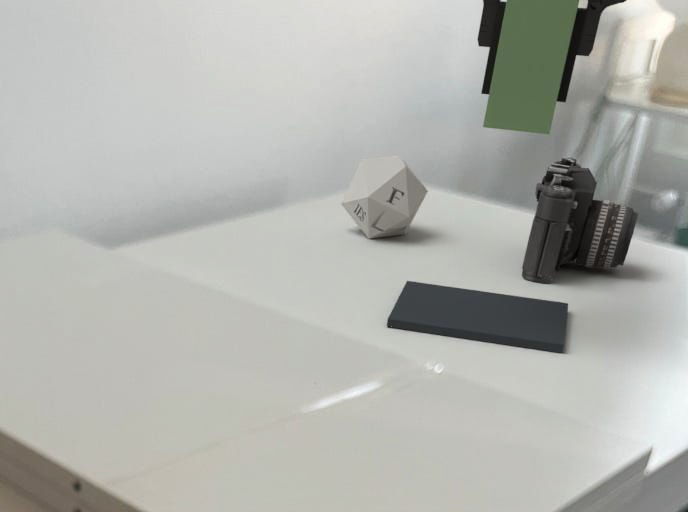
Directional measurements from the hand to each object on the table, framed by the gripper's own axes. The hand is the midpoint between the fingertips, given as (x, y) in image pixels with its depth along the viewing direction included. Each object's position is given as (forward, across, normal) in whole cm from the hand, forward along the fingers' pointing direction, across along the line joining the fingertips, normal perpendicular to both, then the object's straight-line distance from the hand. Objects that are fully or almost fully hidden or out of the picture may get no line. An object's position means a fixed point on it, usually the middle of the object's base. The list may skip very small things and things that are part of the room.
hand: (524, 94), depth 87 cm
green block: (+2, 0, 0) cm, 2 cm away
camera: (+20, +8, +21) cm, 30 cm away
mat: (+19, 0, 0) cm, 19 cm away
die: (+20, -14, +25) cm, 35 cm away
